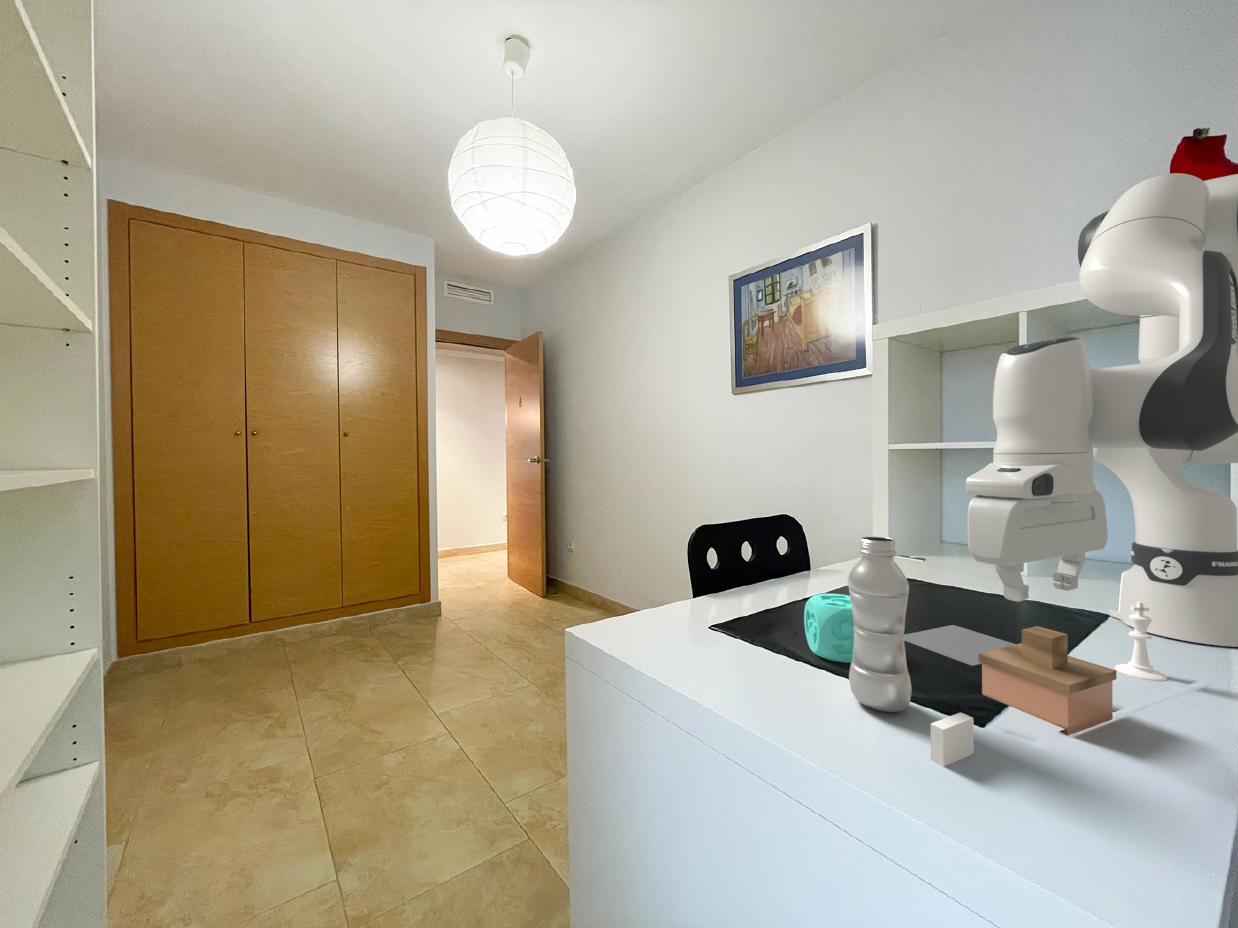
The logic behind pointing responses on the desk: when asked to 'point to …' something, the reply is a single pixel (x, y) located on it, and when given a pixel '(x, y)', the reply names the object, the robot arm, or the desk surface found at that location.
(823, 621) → the decorative dice
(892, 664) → the plastic bottle
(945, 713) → the desk surface
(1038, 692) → the dish
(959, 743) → the eraser
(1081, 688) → the lid
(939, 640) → the mat
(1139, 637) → the chess piece
